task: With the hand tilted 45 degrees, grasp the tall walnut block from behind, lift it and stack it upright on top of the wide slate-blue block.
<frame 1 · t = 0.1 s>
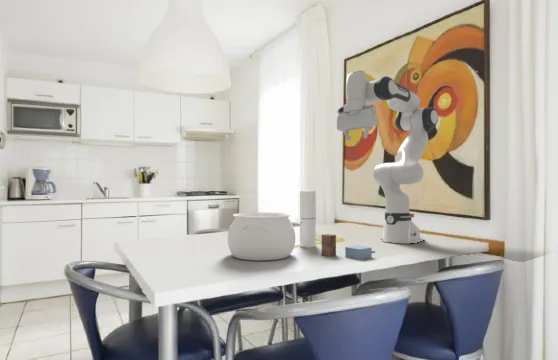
hand: (356, 139, 165), 48 cm above the table, tool pointing down, fingers open, 8 cm apart
pot: (261, 256, 147), on the table
walnut block: (328, 255, 149), on the table
slate block: (358, 257, 144), on the table
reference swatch: (364, 251, 156), on the table
cylindrical container: (307, 246, 170), on the table
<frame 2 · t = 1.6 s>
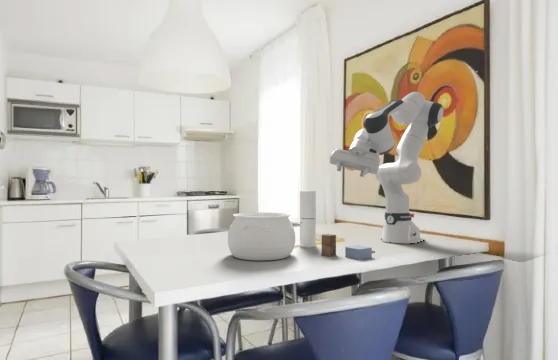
hand: (350, 172, 150), 33 cm above the table, tool tilted 55°, fingers open, 8 cm apart
nothing on the table moved.
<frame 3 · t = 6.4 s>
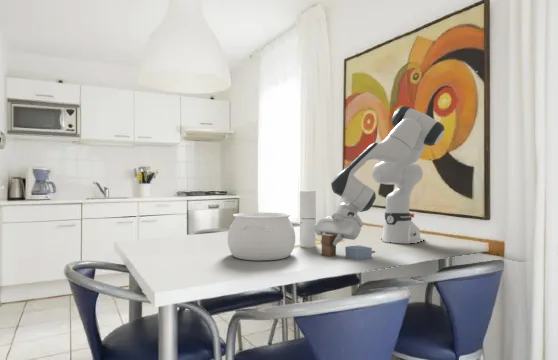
hand: (327, 244, 148), 4 cm above the table, tool tilted 45°, fingers closed on walnut block, 4 cm apart
walnut block: (328, 254, 149), on the table, touching gripper
everything else where it was.
when the fingers open (9 cm above the table, at t = 11.1 s): walnut block drops 1 cm, resting on slate block.
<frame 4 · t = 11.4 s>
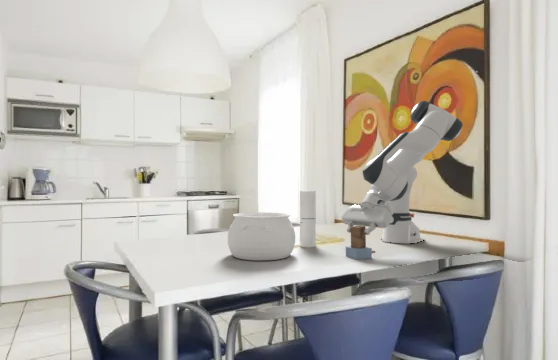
hand: (357, 232, 144), 9 cm above the table, tool tilted 45°, fingers open, 7 cm apart
walnut block: (358, 247, 144), point 4 cm above the table, touching slate block
slate block: (358, 257, 144), on the table, touching walnut block
everything else where it was.
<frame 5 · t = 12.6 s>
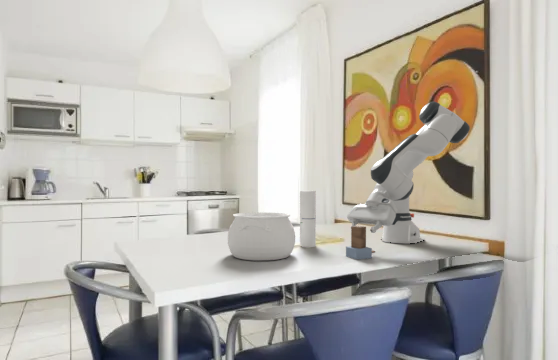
hand: (362, 230, 148), 10 cm above the table, tool tilted 45°, fingers open, 8 cm apart
nothing on the table moved.
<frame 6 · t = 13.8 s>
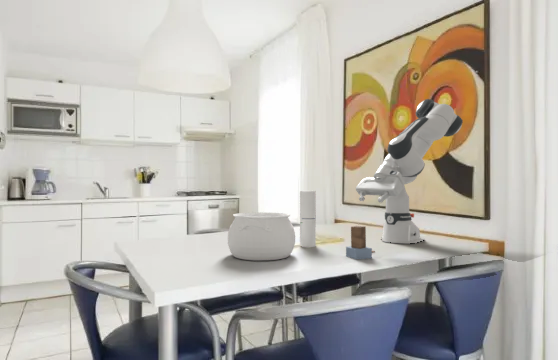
hand: (370, 200, 153), 21 cm above the table, tool tilted 45°, fingers open, 8 cm apart
nothing on the table moved.
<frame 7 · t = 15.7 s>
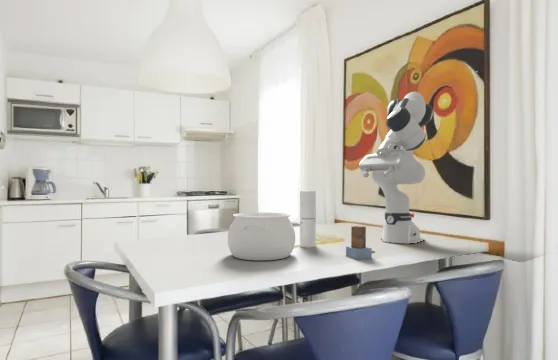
hand: (374, 176, 153), 31 cm above the table, tool tilted 45°, fingers open, 8 cm apart
walnut block: (358, 247, 144), point 4 cm above the table
slate block: (358, 257, 144), on the table
everything else where it was.
at the end: walnut block 0.2 cm off-centre on the slate block, point 4.0 cm above the slate block's base; walnut block tilted 1°; the gripper is holding nothing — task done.
